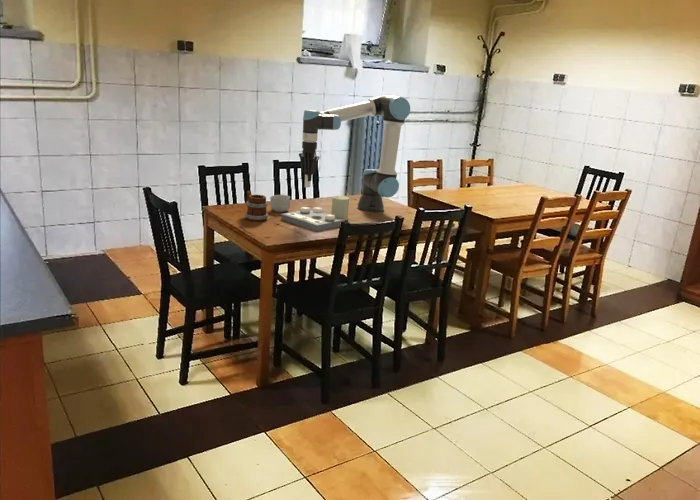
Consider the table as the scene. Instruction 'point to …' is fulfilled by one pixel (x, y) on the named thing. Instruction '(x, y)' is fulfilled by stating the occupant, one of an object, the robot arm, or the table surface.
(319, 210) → the button middle
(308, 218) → the button board
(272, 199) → the teacup
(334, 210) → the can
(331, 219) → the button
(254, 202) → the mug
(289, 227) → the table surface
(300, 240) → the table surface
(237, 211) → the table surface
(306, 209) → the button
